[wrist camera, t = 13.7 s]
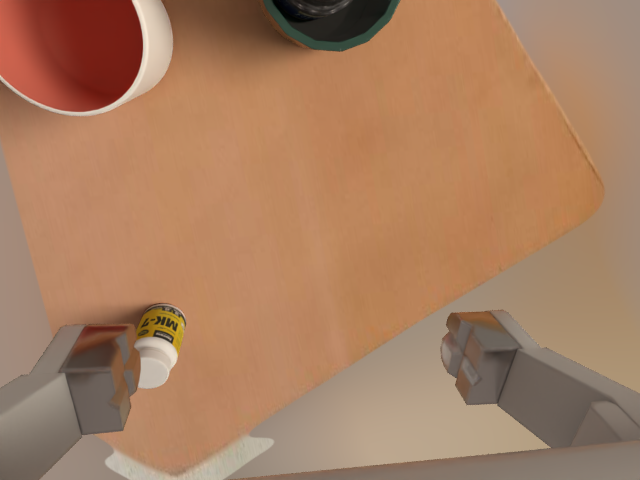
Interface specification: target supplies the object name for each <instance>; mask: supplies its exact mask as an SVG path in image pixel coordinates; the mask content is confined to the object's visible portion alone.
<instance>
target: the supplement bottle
mask: <svg viewBox="0 0 640 480" xmlns="http://www.w3.org/2000/svg"><path fill="white" fill-rule="evenodd" d="M185 326H186V318H185V315H184V314H183V312H182V311H181V310H180V309H179V308H177V307H175V306H173V305H170V304H157V305H153V306H151V307H149V308H148V309H147V310H146V311H145V312H144V314H143V316H142V318H141V321H140V323H139V325H138V328H137V330H136V334H137V339H136V342H135V344H134V348H136V349H137V350H138V351H139V352H140V359H141V372H140V379H139V384H138V387H139V388H144V389H151V388H156V387H159V386H160V385H162V384H163V383H165V382H166V380H167V379H168V376H169V373H170V370H171V369H172V368H173V366H174V365H175V363H176V361H177V358H178V354H179V350H180V346H181V342H182V338H183V334H184V330H185Z"/></svg>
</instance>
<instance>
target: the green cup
mask: <svg viewBox="0 0 640 480" xmlns="http://www.w3.org/2000/svg"><path fill="white" fill-rule="evenodd" d="M258 1H259V3H260V6H261V9H262V12H263V14H264V16H265V17H266V18H267V19H268V21H269V22H270V23H271V25H272V26H273V27H274V28H275V29H276V31H277V32H278V33H279V34H280V35H281V36H282V37H284V38H286V39H288V40H289V41H291V42H293V43H295V44H297V45H299V46H301V47H304V48H309V49H314V50H326V51H339V52H340V51H344V50H347V49H350V48H352V47H355V46H358V45H360V44H363V43H366V42H368V41H369V40H370V39H371V38H372V37H373V36H374V35H375V34H377V33H378V32H379V31H380V30H381V29H382V28H383V27H384V26H385V25H386V24H387V23H388V22H389V21H390V20H391V18H392V16H393V14H394V12H395V10H396V8H397V6H398V4H399V2H400V0H353V1H352V2H351V3H350V4H349V5H348V6H347V7H345V8H344V9H342V10H341V11H339V12H337V13H334V14H332V15H329V16H326V17H323V18H320V19H316V20H312V21H301V20H298V19H296V18H294V17H293V16H291V15H289V14H288V13H286V12H284V11H283V10H282V9H281V8H280V6H279V5H278V4H277V2H276V0H258Z"/></svg>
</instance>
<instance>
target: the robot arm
mask: <svg viewBox="0 0 640 480" xmlns="http://www.w3.org/2000/svg"><path fill="white" fill-rule="evenodd" d="M446 326H447V328H448V329H449V332H448V333H447V334H446V335H445V336H444V337H443V339H442V344H441V359H442V362H443V365H444V367H445V369H446V370H447V372H448V373H449V374H451V375H452V376H454V377H455V378H457V380H456V384H455V386H456V388H457V389H458V391H459V393H460V394H461V396H462V397H463V399H464V401H465V403H466V404H467V405H479V404H498V406H499V407H500V408H501V409H503V410H504V411H505V412H506V413H508V414H509V415H510V416H512V417H513V418H514V419H515V420H517V421H518V422H519V423H520V424H522V425H523V426H524V427H526V428H527V429H528V430H529V431H531V432H532V433H533V434H534V435H536V436H537V437H538V438H539V439H541V440H542V441H543V442H545V443H546V444H547V445H548V446H550V447H551V448H549V449H538V450H529V451H518V452H507V453H497V454H487V455H476V456H466V457H456V458H445V459H435V460H425V461H414V462H404V463H393V464H383V465H373V466H364V467H353V468H343V469H333V470H322V471H312V472H301V473H291V474H281V475H271V476H261V477H251V478H240V479H230V480H640V393H638V392H636V391H633V390H631V389H629V388H627V387H625V386H623V385H621V384H619V383H617V382H615V381H613V380H611V379H609V378H607V377H605V376H603V375H601V374H599V373H597V372H595V371H593V370H591V369H589V368H587V367H585V366H583V365H581V364H579V363H577V362H575V361H573V360H571V359H569V358H566V357H564V356H562V355H560V354H558V353H556V352H554V351H552V350H550V349H548V348H541V347H540V346H539V345H538V344H537V343H536V342H535V341H534V340H533V339H532V338H531V337H530V335H529V334H528V333H527V332H526V331H525V330H524V329H523V328H522V327H521V326H520V325H519V324H518V323H517V322H516V320H514V318H513V317H512V316H511V315H510V314H509V313H508V312H506V311H504V310H492V311H485V312H460V313H451V314H450V315H449V317H448V319H447V323H446ZM136 339H137V334H136V329H135V326H134V325H133V324H88V325H86V324H82V325H65V326H63V327H61V328H60V329H59V331H58V332H57V334H56V335H55V337H54V338H53V340H52V341H51V343H50V344H49V346H48V347H47V349H46V350H45V352H44V353H43V355H42V356H41V358H40V359H39V360H38V362H37V363H36V365H35V367H34V368H33V370H32V371H31V373H30V374H29V375H21V376H19V377H18V378H16V379H14V380H13V381H11V382H9V383H8V384H6V385H4V386H3V387H1V388H0V480H39V479H40V478H41V477H42V476H43V475H44V474H46V472H48V470H50V469H51V468H52V466H53V465H54V464H56V463H57V462H58V461H59V460H60V459H61V458H62V457H63V455H65V454H66V453H67V452H68V451H69V450H70V449H71V448H72V447H73V446H74V445H75V444H76V443H77V442H78V441H79V440H80V439H81V438H82V435H87V434H97V433H107V432H117V431H123V430H124V427H125V424H126V421H127V418H128V415H129V412H130V409H131V403H130V396H131V395H133V394H134V393H135V392H136V390H137V387H138V384H139V379H140V372H141V359H140V352H139V351H138V350H137V349H136V348H134V344H135V342H136Z"/></svg>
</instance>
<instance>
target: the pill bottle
mask: <svg viewBox="0 0 640 480" xmlns="http://www.w3.org/2000/svg"><path fill="white" fill-rule="evenodd" d="M352 1H353V0H276V2H277V4H278V5H279V6H280V8H281V9H282V10H283V11H284V12H286V13H288V14H289V15H291V16H293V17H294V18H296V19H298V20H301V21H312V20H316V19H320V18H323V17H326V16H329V15H332V14H334V13H337V12H339V11H341V10H342V9H344V8H345V7H347V6H348V5H349V4H350V3H351V2H352Z"/></svg>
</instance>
